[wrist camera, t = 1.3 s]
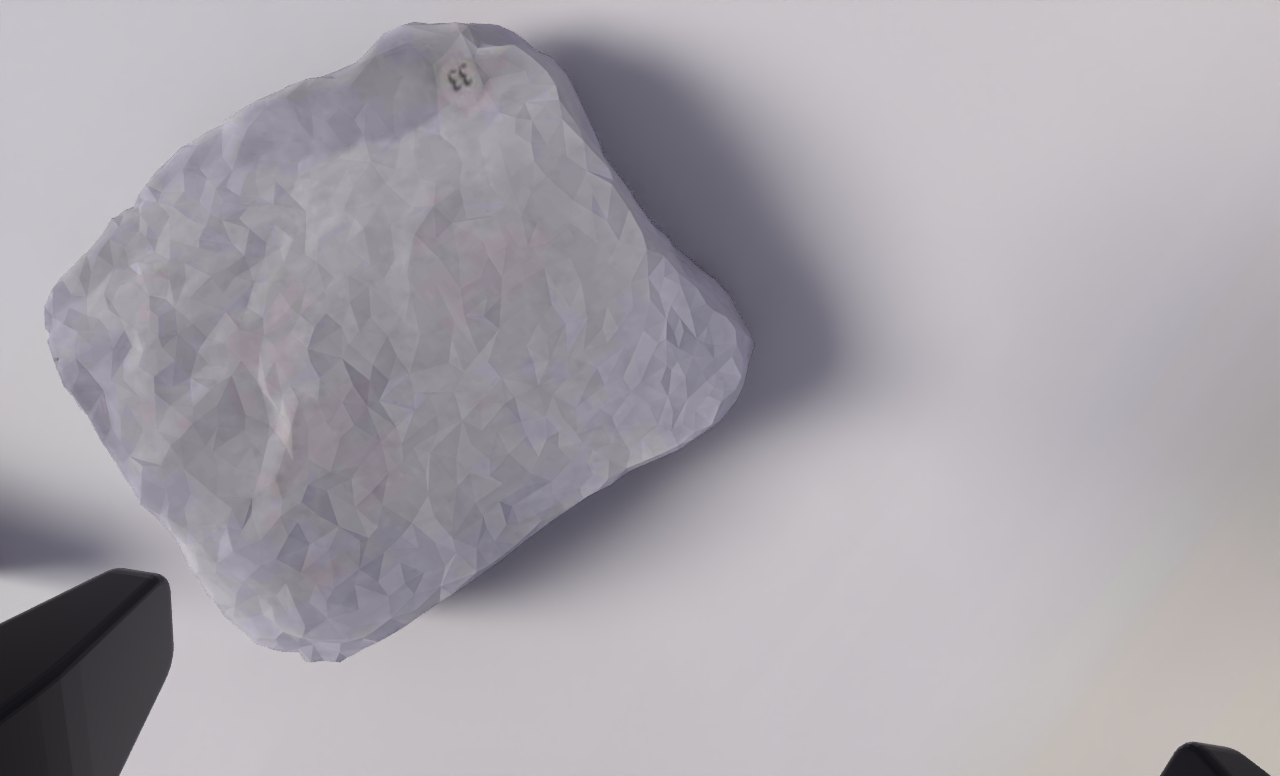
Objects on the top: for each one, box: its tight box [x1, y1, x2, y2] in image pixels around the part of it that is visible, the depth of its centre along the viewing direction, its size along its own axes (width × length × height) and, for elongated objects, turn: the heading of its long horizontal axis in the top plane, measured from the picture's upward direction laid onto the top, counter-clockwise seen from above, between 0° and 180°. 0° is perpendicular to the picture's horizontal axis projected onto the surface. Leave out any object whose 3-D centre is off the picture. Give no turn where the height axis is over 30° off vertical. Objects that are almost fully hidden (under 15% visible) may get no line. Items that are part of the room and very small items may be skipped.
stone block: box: [45, 22, 755, 662], centre depth 18 cm, size 12×5×10 cm
